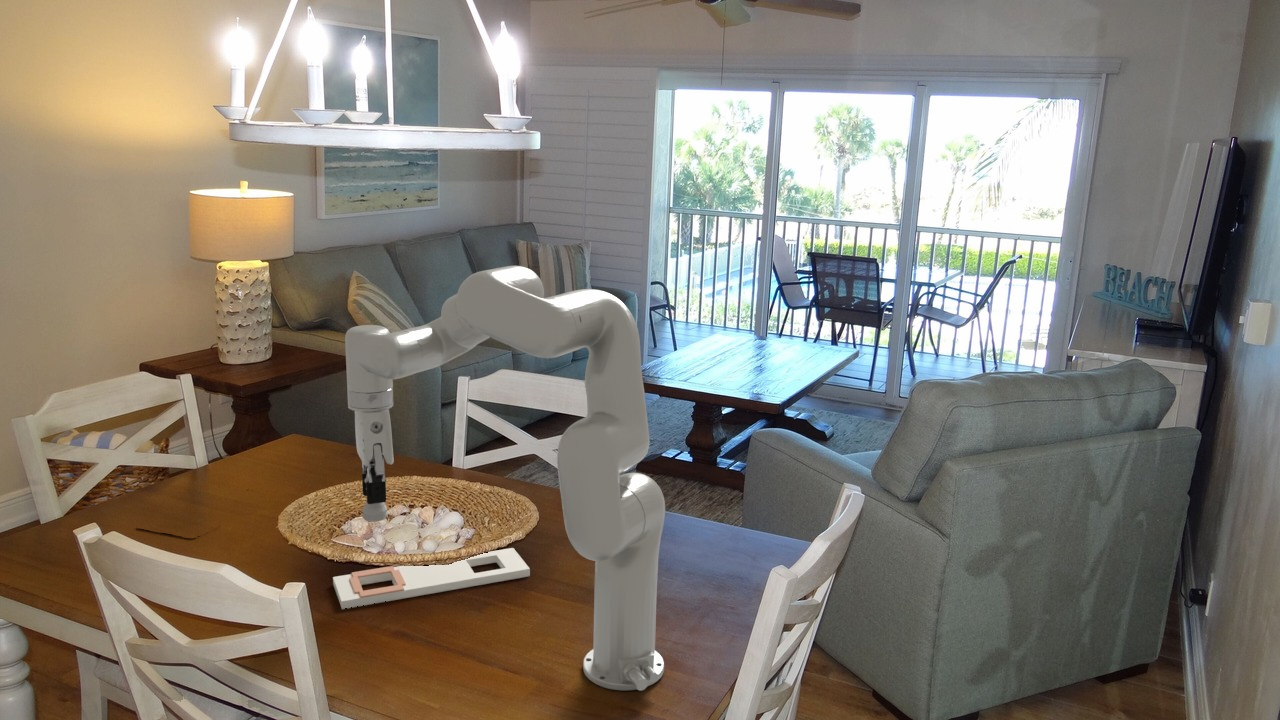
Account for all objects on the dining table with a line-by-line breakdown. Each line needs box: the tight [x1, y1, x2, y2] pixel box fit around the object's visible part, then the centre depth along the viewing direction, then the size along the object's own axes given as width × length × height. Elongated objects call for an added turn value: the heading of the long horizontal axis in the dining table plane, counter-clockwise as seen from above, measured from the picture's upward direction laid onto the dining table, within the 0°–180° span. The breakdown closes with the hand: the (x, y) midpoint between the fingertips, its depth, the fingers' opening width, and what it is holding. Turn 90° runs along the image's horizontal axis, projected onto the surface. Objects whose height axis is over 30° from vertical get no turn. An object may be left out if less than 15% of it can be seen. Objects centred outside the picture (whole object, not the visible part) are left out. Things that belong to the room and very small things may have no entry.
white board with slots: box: [332, 547, 531, 610], centre depth 179 cm, size 10×34×2 cm, turn 115°
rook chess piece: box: [361, 474, 389, 523], centre depth 171 cm, size 4×4×8 cm
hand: (374, 497), depth 171 cm, fingers closed on rook chess piece, 3 cm apart
